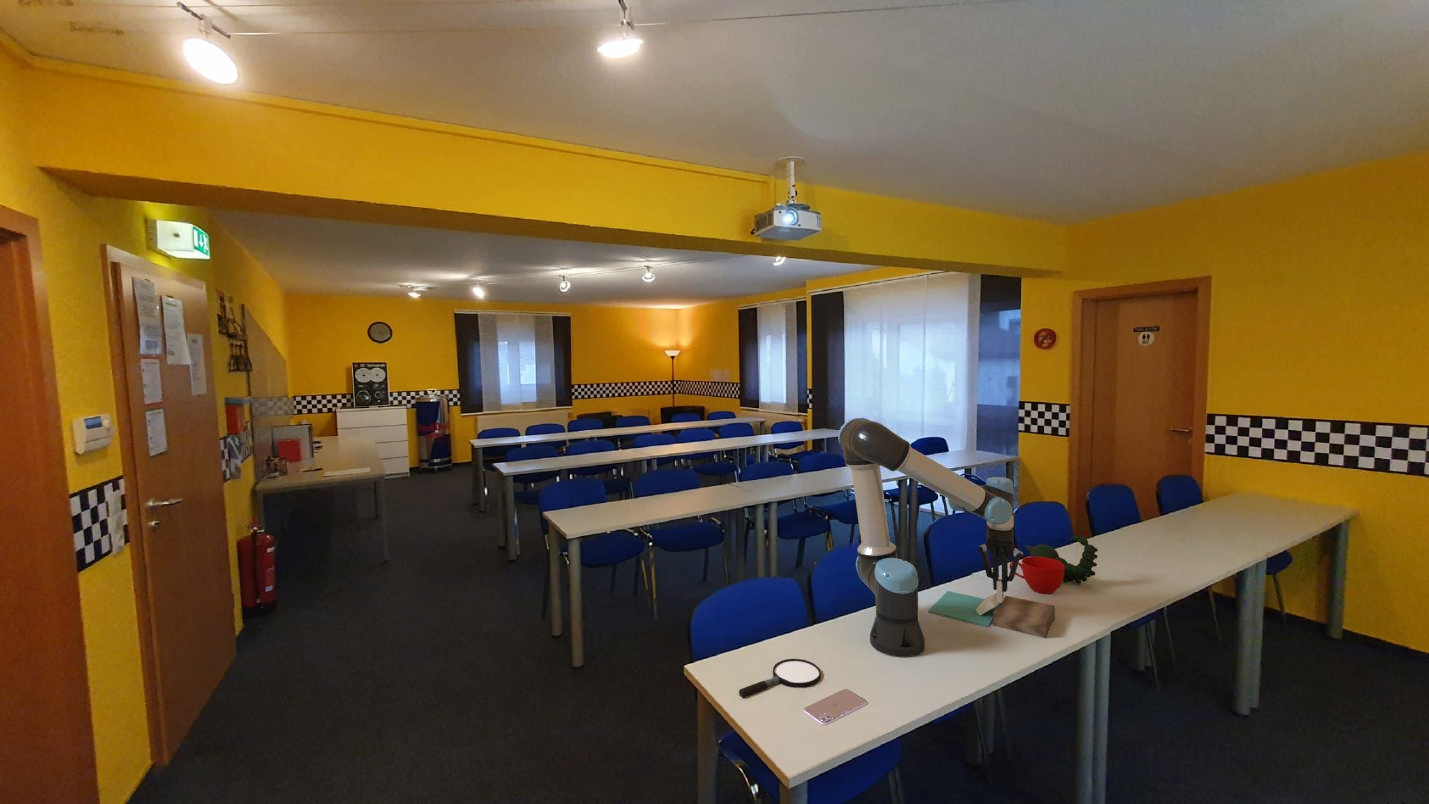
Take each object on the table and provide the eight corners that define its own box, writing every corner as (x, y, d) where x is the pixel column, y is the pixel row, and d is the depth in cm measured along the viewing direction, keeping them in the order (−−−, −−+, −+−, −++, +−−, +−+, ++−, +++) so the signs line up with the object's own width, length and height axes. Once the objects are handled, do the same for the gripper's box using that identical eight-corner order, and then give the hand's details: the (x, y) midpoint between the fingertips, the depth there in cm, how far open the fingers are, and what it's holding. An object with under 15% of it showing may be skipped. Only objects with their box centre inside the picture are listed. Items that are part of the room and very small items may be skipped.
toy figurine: (1098, 589, 203) (1030, 563, 224) (1104, 538, 200) (1034, 517, 222) (1083, 595, 198) (1015, 568, 220) (1089, 543, 195) (1019, 521, 217)
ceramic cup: (1012, 579, 211) (1012, 552, 210) (1065, 588, 201) (1065, 560, 200) (1006, 590, 200) (1006, 563, 200) (1062, 601, 190) (1062, 571, 190)
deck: (993, 625, 174) (993, 612, 174) (1005, 607, 187) (1005, 595, 186) (1045, 638, 166) (1045, 624, 165) (1054, 618, 178) (1054, 605, 178)
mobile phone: (869, 700, 137) (823, 724, 128) (869, 704, 137) (823, 728, 129) (846, 686, 143) (800, 707, 135) (846, 690, 143) (801, 711, 135)
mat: (928, 612, 185) (928, 610, 185) (947, 592, 200) (947, 590, 200) (987, 627, 173) (987, 625, 173) (1003, 604, 189) (1003, 603, 189)
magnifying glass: (727, 686, 146) (727, 678, 146) (799, 660, 159) (799, 653, 159) (755, 710, 136) (755, 701, 136) (830, 680, 149) (830, 672, 148)
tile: (979, 615, 180) (975, 609, 181) (987, 605, 187) (983, 600, 188) (995, 606, 177) (990, 601, 178) (1002, 597, 184) (998, 591, 185)
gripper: (974, 526, 180) (975, 599, 181) (1020, 533, 172) (1020, 609, 173) (981, 521, 186) (981, 592, 187) (1025, 527, 177) (1026, 601, 179)
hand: (1000, 600), depth 180 cm, fingers closed
